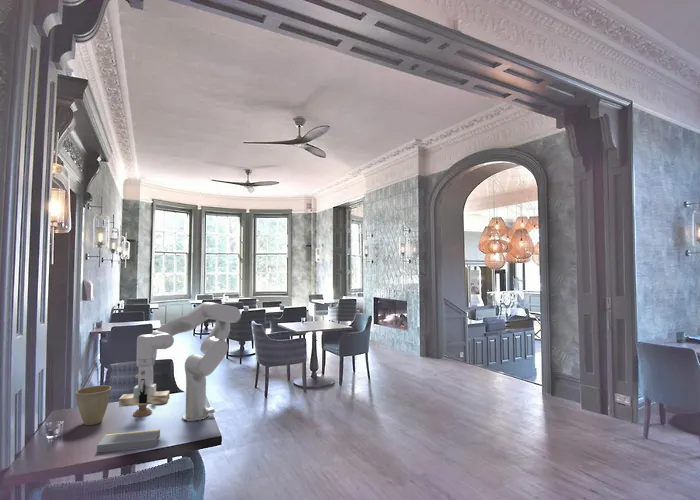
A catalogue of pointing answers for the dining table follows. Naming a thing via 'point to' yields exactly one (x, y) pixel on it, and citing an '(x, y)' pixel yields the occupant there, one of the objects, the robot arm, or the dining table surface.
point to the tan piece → (156, 399)
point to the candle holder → (142, 409)
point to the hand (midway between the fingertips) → (144, 400)
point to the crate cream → (151, 390)
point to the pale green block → (136, 391)
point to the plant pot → (93, 403)
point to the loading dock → (128, 440)
